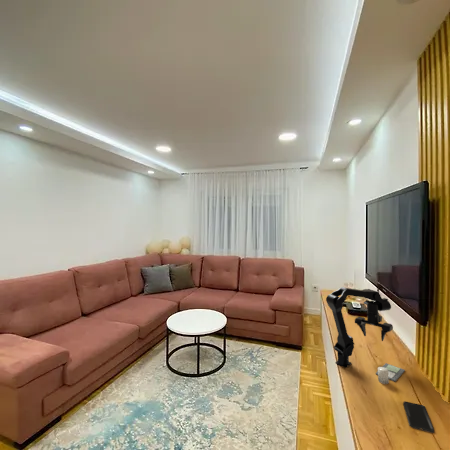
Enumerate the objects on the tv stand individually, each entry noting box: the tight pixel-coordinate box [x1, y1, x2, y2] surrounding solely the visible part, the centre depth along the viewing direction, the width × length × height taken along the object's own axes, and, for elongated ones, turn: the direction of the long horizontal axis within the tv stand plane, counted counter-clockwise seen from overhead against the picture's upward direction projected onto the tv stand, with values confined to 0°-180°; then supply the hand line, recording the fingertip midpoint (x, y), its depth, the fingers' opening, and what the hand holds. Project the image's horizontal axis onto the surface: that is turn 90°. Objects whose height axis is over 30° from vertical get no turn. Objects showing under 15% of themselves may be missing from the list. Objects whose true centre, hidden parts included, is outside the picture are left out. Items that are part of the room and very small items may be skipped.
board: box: [375, 362, 406, 383], centre depth 135 cm, size 14×9×1 cm, turn 129°
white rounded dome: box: [377, 366, 390, 385], centre depth 128 cm, size 4×4×6 cm
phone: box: [402, 400, 435, 434], centre depth 104 cm, size 8×1×15 cm
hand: (373, 338), depth 150 cm, fingers open, 9 cm apart
